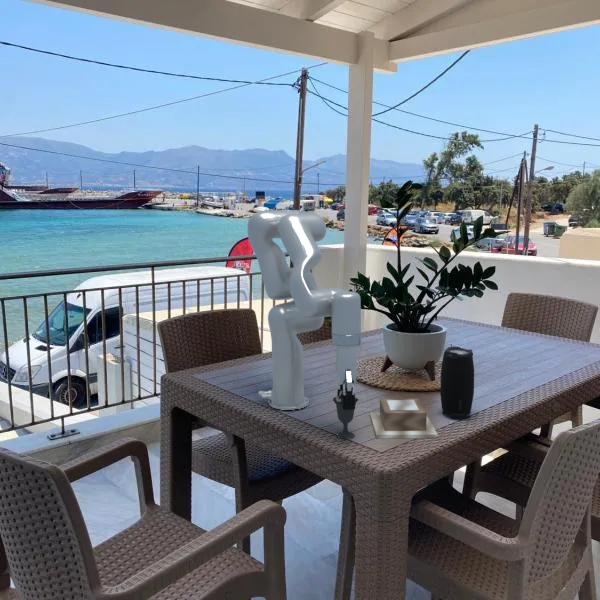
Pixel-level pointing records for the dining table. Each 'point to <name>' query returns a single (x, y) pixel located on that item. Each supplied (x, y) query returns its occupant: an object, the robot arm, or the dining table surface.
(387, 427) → the pedestal
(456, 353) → the portable speaker
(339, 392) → the sundae
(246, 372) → the dining table surface
